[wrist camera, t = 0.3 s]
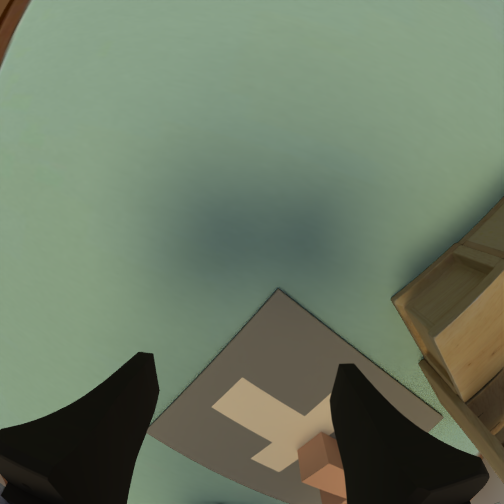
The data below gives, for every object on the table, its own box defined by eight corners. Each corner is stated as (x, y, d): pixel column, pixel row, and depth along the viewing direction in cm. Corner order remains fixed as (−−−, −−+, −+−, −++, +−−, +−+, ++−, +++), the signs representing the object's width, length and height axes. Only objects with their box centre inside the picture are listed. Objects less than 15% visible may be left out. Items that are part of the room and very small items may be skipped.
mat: (316, 510, 27) (316, 512, 27) (145, 429, 24) (144, 431, 24) (442, 415, 24) (443, 417, 24) (278, 288, 22) (278, 289, 21)
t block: (337, 491, 26) (343, 519, 22) (274, 466, 25) (276, 497, 21) (403, 443, 24) (416, 470, 20) (346, 410, 23) (357, 441, 19)
